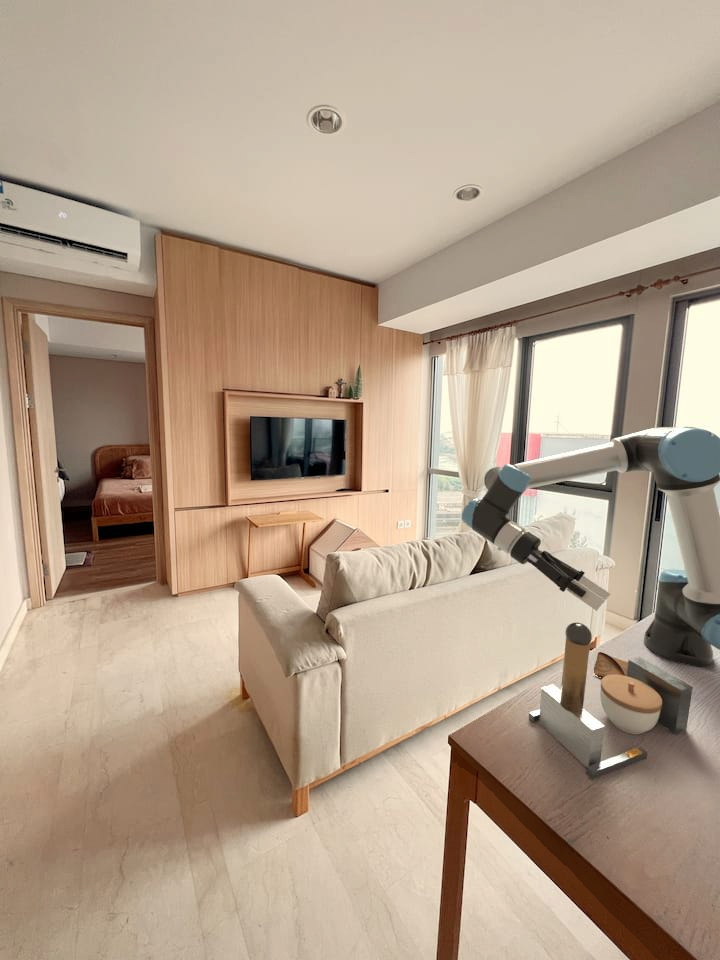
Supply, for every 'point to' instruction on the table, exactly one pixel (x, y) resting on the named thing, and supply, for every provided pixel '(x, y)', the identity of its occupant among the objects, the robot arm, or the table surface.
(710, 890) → the table surface
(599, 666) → the sunglasses case
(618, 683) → the lidded jar
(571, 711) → the gold upright rod
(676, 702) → the bench
